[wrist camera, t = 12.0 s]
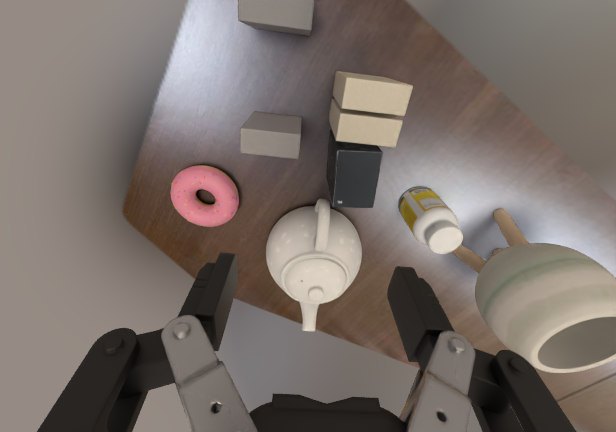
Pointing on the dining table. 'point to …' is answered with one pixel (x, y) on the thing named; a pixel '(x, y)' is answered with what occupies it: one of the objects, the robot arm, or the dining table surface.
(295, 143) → the grey books
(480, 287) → the planter
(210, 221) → the doughnut
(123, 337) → the robot arm
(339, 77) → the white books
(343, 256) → the teapot
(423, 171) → the dining table surface
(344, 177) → the box
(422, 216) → the pill bottle
